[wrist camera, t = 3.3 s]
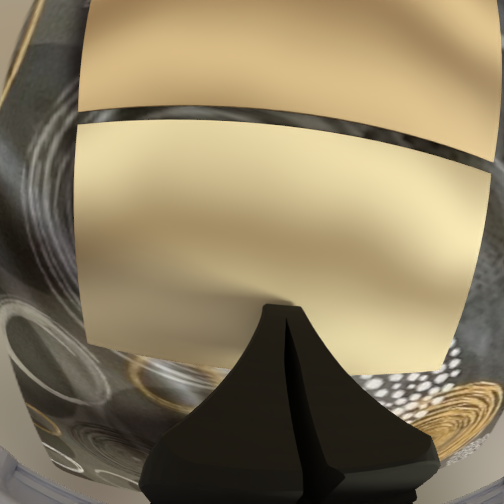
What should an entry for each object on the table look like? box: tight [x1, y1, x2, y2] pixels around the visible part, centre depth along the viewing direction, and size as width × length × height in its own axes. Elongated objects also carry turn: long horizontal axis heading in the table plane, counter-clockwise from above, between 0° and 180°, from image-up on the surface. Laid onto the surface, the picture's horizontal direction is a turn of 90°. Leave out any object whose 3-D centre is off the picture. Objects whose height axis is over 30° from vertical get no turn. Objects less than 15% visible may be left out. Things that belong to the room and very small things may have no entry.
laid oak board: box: [78, 0, 502, 162], centre depth 8 cm, size 8×16×2 cm, turn 85°
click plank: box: [74, 120, 491, 375], centre depth 11 cm, size 9×16×2 cm, turn 85°
